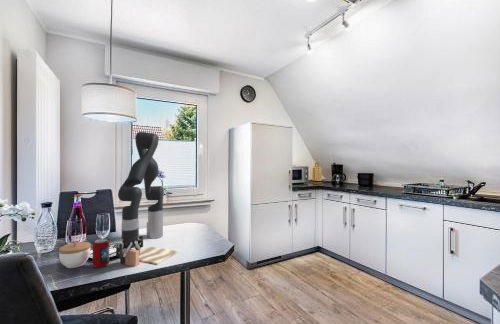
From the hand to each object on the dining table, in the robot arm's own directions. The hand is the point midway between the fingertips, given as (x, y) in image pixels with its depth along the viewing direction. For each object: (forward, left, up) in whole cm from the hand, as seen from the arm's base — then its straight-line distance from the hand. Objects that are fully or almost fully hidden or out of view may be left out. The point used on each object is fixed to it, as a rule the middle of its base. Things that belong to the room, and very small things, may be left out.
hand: (130, 260), depth 118 cm
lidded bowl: (-24, -10, -2) cm, 26 cm away
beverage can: (-12, -6, -2) cm, 14 cm away
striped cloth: (+3, +12, -2) cm, 12 cm away
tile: (0, 0, -2) cm, 2 cm away
